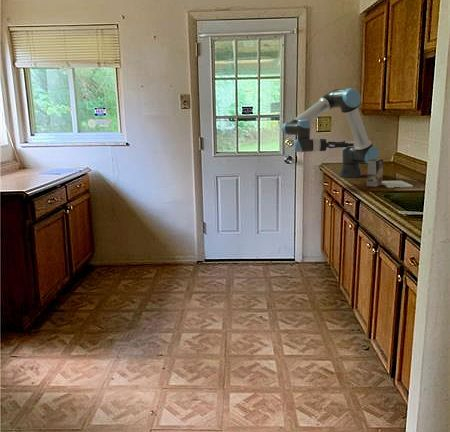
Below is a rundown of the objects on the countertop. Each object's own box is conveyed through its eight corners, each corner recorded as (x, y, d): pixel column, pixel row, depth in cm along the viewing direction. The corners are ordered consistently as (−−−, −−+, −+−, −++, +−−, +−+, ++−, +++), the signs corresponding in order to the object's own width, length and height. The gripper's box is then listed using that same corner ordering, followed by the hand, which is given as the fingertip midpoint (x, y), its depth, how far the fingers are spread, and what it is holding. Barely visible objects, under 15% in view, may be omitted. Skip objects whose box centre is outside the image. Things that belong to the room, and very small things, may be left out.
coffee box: (376, 186, 280) (377, 160, 276) (366, 186, 284) (367, 160, 280) (382, 184, 287) (383, 159, 283) (372, 183, 291) (373, 158, 287)
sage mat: (378, 182, 294) (378, 181, 294) (401, 182, 294) (401, 180, 294) (388, 187, 276) (388, 186, 275) (412, 187, 275) (412, 185, 275)
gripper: (316, 149, 290) (353, 148, 290) (322, 152, 272) (361, 151, 272) (316, 138, 288) (353, 136, 288) (322, 140, 271) (361, 138, 270)
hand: (357, 144), depth 280 cm, fingers open, 5 cm apart
